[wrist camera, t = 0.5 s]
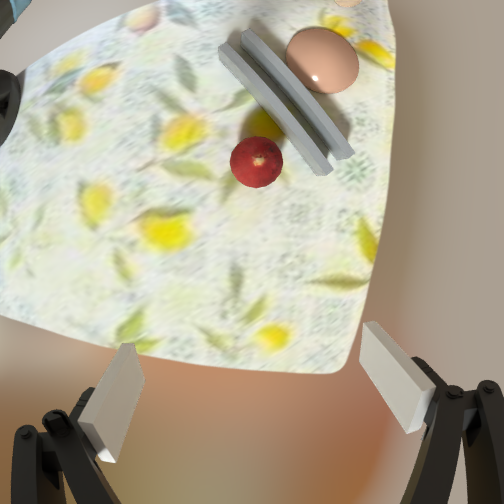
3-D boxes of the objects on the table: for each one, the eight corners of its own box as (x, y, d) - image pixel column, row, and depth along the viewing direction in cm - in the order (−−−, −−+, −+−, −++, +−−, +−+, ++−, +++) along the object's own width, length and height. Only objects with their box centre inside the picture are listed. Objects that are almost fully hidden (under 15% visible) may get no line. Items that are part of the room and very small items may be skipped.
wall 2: (240, 45, 31) (241, 32, 27) (247, 41, 31) (249, 28, 27) (336, 160, 36) (348, 158, 32) (343, 155, 36) (355, 153, 32)
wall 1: (219, 59, 32) (217, 47, 28) (226, 54, 31) (226, 41, 28) (316, 175, 36) (326, 175, 32) (323, 170, 36) (333, 169, 32)
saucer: (270, 51, 32) (271, 48, 31) (324, 22, 31) (326, 19, 30) (318, 106, 34) (321, 105, 33) (369, 74, 33) (372, 72, 32)
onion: (260, 132, 34) (268, 119, 27) (286, 170, 36) (301, 167, 28) (221, 157, 35) (218, 151, 27) (247, 195, 36) (252, 199, 28)
